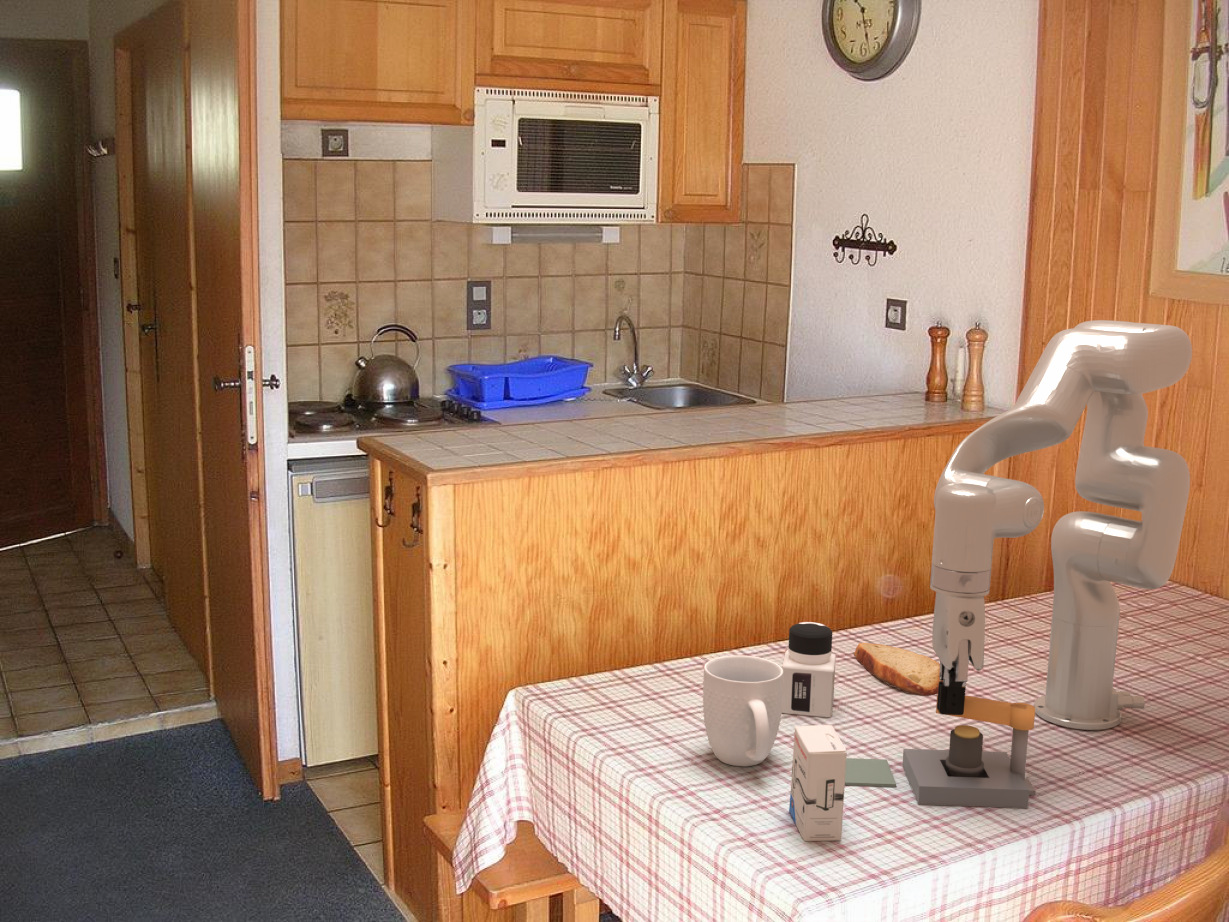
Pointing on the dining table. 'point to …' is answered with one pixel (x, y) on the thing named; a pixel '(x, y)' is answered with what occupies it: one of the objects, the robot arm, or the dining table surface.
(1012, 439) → the robot arm
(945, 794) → the socket
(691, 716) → the dining table surface
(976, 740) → the plug
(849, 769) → the pad
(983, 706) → the clip
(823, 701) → the container
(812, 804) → the ink box
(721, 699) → the mug
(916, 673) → the bread slice
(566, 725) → the dining table surface
